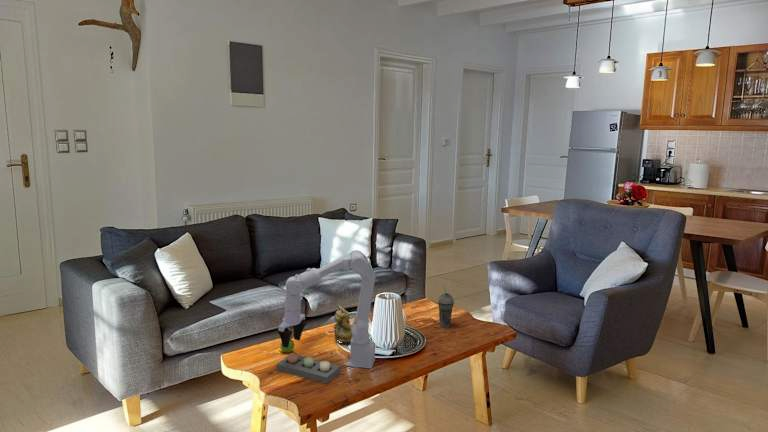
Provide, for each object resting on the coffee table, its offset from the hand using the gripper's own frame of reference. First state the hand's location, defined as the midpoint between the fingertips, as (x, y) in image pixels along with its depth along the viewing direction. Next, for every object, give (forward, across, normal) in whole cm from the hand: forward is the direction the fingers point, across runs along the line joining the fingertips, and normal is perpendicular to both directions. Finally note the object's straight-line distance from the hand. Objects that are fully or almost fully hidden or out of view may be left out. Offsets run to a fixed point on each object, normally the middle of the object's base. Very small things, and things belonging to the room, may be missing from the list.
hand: (291, 343), depth 203 cm
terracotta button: (+8, 0, +1) cm, 8 cm away
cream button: (+7, 0, +15) cm, 17 cm away
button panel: (+9, 0, +8) cm, 12 cm away
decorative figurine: (+9, -31, +6) cm, 32 cm away
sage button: (+7, 0, +8) cm, 11 cm away
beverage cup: (+6, -66, +40) cm, 77 cm away
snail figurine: (+10, -10, -8) cm, 16 cm away
